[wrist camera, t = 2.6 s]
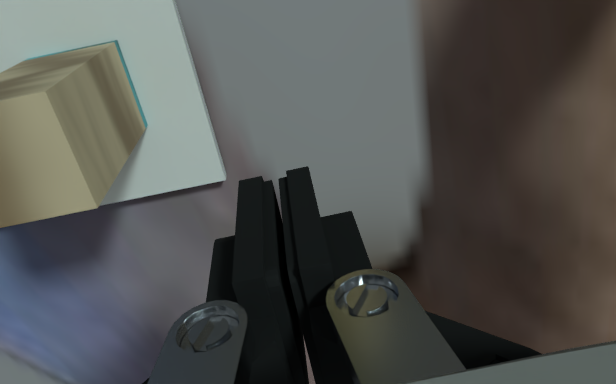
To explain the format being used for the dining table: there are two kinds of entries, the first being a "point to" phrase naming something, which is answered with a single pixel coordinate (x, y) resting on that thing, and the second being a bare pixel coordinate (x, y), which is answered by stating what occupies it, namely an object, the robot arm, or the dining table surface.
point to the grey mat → (144, 74)
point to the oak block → (65, 131)
